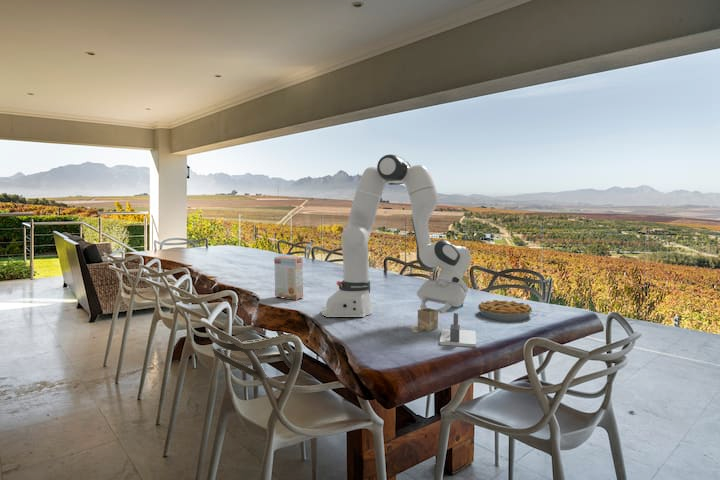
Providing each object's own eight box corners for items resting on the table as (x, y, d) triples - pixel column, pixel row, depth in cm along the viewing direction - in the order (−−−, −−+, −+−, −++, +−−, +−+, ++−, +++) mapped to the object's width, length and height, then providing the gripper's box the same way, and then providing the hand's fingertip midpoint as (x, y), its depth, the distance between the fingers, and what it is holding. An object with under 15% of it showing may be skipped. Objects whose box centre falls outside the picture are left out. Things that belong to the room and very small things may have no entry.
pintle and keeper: (451, 334, 166) (451, 312, 165) (459, 335, 165) (460, 313, 164) (450, 344, 154) (450, 321, 153) (459, 345, 153) (459, 321, 153)
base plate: (442, 331, 170) (442, 328, 169) (475, 333, 167) (475, 330, 167) (439, 344, 154) (439, 341, 154) (476, 347, 151) (476, 344, 151)
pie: (494, 307, 209) (494, 296, 209) (541, 315, 193) (541, 303, 193) (468, 315, 194) (468, 304, 193) (516, 325, 178) (516, 312, 178)
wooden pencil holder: (426, 325, 178) (426, 307, 177) (437, 328, 174) (437, 310, 173) (408, 330, 171) (408, 312, 171) (419, 333, 167) (419, 314, 167)
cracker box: (303, 298, 228) (303, 257, 227) (295, 300, 223) (295, 258, 222) (282, 295, 236) (281, 255, 234) (274, 297, 231) (273, 256, 229)
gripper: (423, 274, 187) (407, 301, 181) (465, 280, 172) (449, 310, 166) (430, 283, 190) (415, 310, 184) (472, 290, 175) (456, 320, 169)
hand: (431, 310), depth 175 cm, fingers open, 8 cm apart
